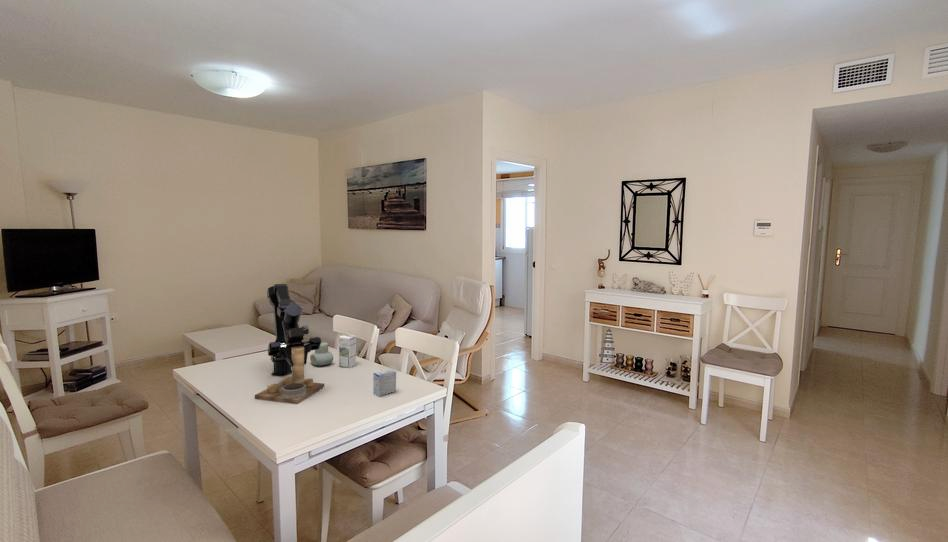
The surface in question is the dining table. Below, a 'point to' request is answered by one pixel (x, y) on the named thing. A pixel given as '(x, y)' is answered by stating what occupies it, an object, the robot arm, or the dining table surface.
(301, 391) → the stool seat
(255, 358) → the dining table surface
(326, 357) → the air freshener
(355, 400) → the dining table surface
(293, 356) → the stool leg
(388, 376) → the medicine box
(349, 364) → the syrup box
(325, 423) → the dining table surface
